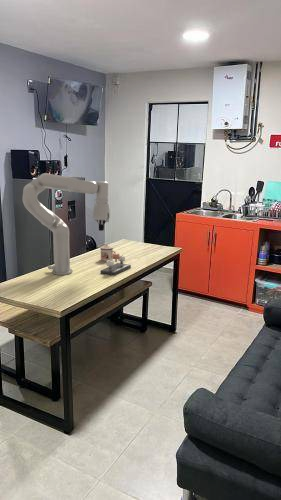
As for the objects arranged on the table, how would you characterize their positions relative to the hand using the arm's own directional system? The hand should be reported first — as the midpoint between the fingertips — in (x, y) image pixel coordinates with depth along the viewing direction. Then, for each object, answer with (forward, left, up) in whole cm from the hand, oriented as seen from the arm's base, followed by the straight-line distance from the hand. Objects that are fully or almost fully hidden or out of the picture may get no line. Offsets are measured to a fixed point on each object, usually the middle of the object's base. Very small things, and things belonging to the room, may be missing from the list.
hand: (101, 230), depth 241 cm
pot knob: (+10, -2, -20) cm, 22 cm away
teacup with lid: (+2, +24, -26) cm, 36 cm away
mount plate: (+10, -2, -26) cm, 28 cm away
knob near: (+6, -8, -23) cm, 25 cm away
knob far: (+13, +4, -23) cm, 27 cm away
